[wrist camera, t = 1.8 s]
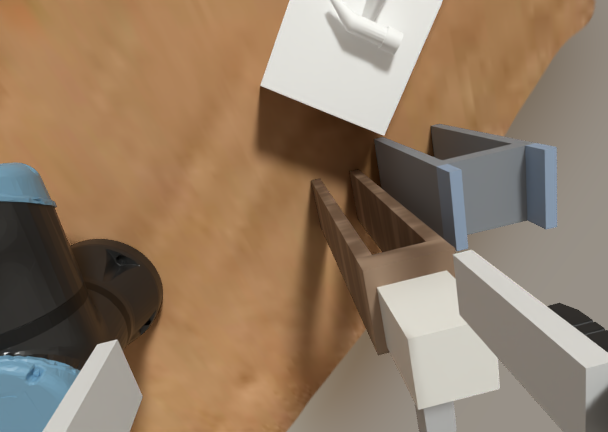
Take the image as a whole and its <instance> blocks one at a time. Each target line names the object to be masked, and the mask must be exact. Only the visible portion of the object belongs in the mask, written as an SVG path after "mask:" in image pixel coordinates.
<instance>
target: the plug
mask: <svg viewBox="0 0 608 432" xmlns="http://www.w3.org/2000/svg"><path fill="white" fill-rule="evenodd" d="M377 291H378V297H379V303H380V309H381V315H382V321H383V326H384V332H385V338H386V344H387V348H388V350H389V352H390V354H391V356H392V358H393V360H394V362H395V364H396V366H397V368H398V370H399V372H400V374H401V376H402V378H403V380H404V382H405V384H406V386H407V388H408V390H409V392H410V394H411V396H412V398H413V400H414V402H415V407H416V414H417V420H418V427H419V431H420V432H457V429H456V420H455V412H454V403H453V401H455V400H458V399H462V398H466V397H470V396H474V395H478V394H482V393H485V392H490V391H493V390H497V389H500V385H499V370H498V358H497V357H496V355H495V354H494V353H493V352H492V351H491V350H490V349H489V348H488V346H487V345H486V344H485V343H484V342H483V341H482V340H481V338H480V337H479V336H478V335H477V334H476V333H475V332H474V331H473V329H472V328H471V327H470V326H469V325H468V324H467V323H466V322H465V320H464V319H463V318H462V317H461V316H460V315H459V306H458V297H457V287H456V279H455V278H454V277H453V276H452V275H451V274H450V273H449V272H448V271H447V270H446V271H442V272H438V273H434V274H430V275H425V276H421V277H417V278H413V279H409V280H405V281H401V282H397V283H393V284H389V285H385V286H381V287H377Z"/></svg>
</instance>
